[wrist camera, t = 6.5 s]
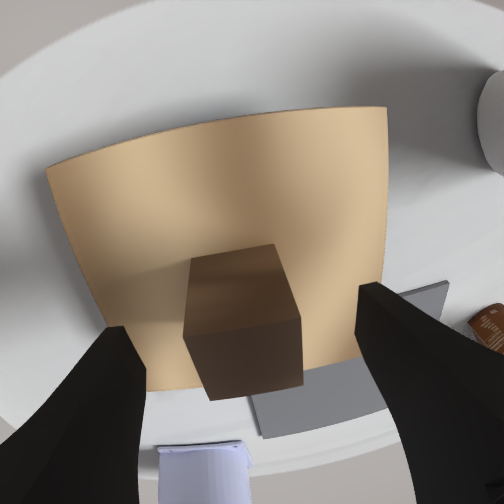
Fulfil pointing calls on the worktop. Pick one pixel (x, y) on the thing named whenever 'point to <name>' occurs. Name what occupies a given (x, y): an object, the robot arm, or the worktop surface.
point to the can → (492, 121)
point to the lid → (233, 242)
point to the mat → (334, 386)
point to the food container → (489, 327)
